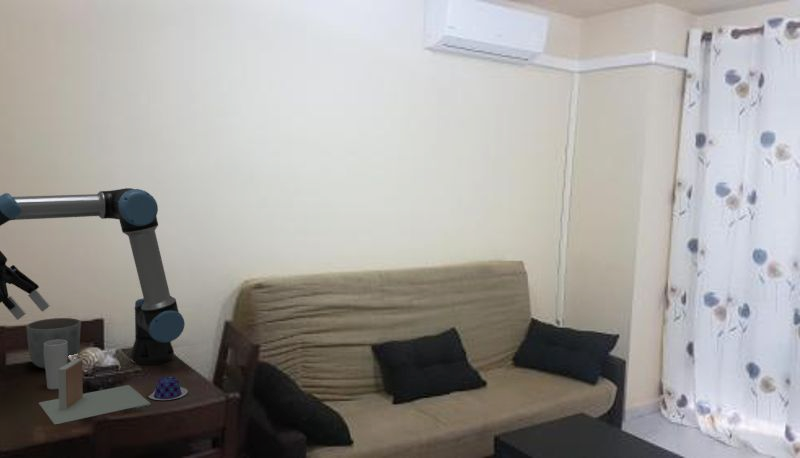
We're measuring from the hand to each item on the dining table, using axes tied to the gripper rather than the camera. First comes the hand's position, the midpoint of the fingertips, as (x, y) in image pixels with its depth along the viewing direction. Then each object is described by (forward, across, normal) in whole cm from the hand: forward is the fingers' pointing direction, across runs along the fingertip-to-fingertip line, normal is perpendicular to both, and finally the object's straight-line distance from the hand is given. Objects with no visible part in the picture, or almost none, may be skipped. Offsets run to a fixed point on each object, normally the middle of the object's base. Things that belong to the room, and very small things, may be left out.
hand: (34, 312), depth 186 cm
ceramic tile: (+28, 0, -9) cm, 29 cm away
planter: (+12, -36, -25) cm, 46 cm away
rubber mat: (+33, 0, -4) cm, 33 cm away
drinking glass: (+21, -14, -17) cm, 30 cm away
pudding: (+44, -9, +10) cm, 47 cm away
